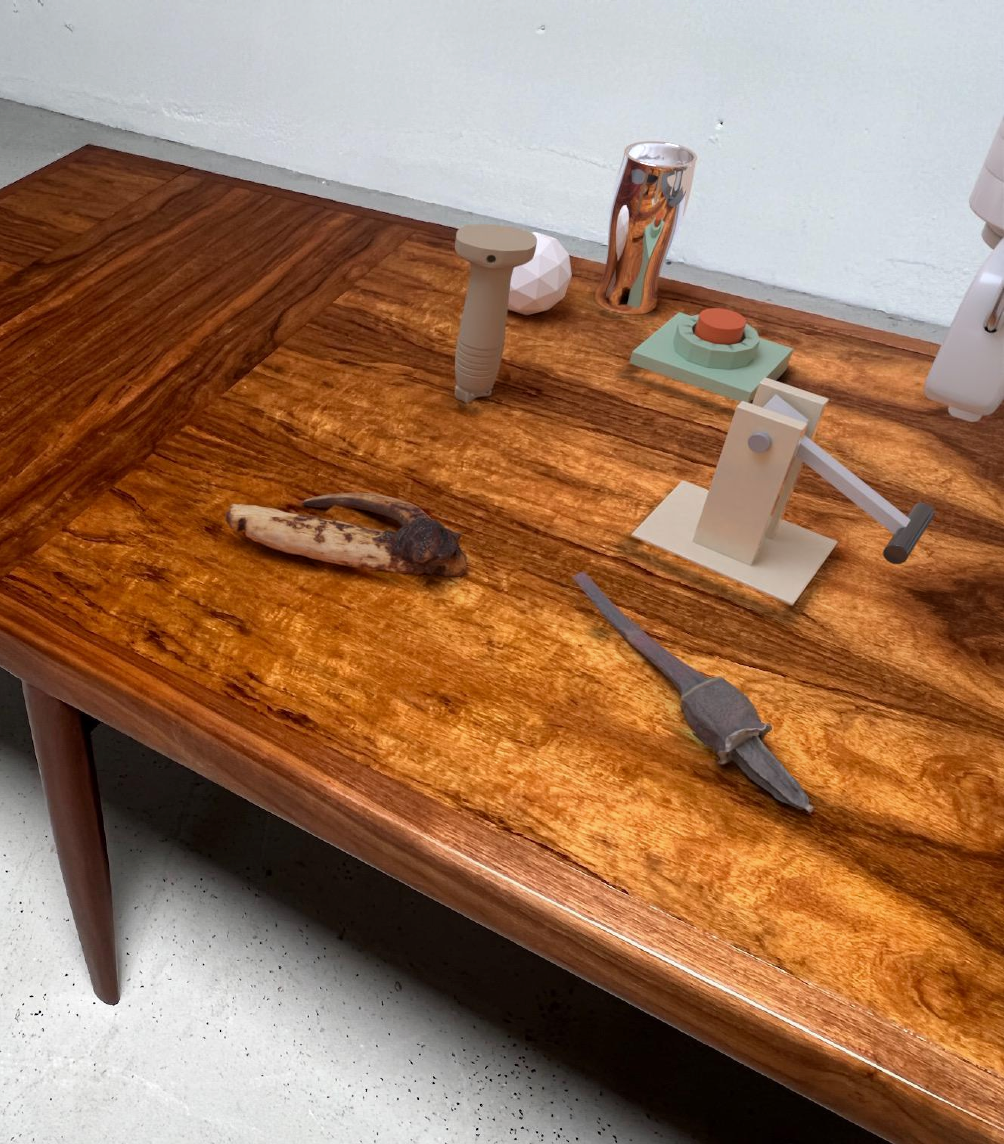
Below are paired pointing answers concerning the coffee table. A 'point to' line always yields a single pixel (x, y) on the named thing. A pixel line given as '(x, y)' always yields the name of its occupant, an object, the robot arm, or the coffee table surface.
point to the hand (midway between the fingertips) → (968, 409)
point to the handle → (486, 302)
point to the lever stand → (749, 502)
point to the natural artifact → (710, 708)
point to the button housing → (712, 359)
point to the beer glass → (644, 223)
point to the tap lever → (862, 493)
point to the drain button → (720, 326)
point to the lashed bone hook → (357, 535)
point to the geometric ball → (540, 278)
